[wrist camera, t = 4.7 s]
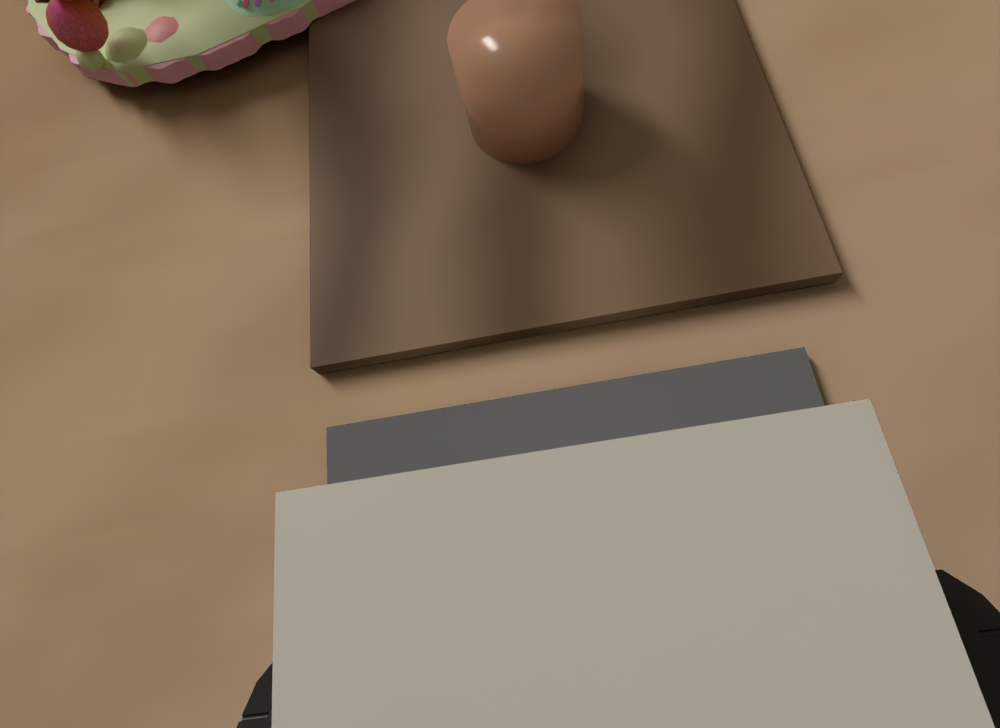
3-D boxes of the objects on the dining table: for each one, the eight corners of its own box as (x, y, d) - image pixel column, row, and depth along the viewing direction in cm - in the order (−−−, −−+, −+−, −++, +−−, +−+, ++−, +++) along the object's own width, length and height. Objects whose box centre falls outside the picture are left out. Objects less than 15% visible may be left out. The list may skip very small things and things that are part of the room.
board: (318, 373, 18) (310, 367, 18) (315, 23, 24) (308, 10, 24) (834, 282, 17) (842, 272, 16) (697, -69, 23) (700, -85, 22)
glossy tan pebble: (447, 132, 20) (420, 47, 17) (518, 57, 21) (504, -37, 18) (535, 183, 19) (523, 102, 16) (608, 102, 20) (610, 8, 16)
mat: (343, 1046, 13) (335, 1061, 12) (332, 430, 18) (326, 427, 17) (1025, 1006, 11) (1040, 1021, 11) (800, 352, 16) (804, 347, 16)
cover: (493, 821, 13) (258, 1392, 4) (465, 543, 15) (275, 492, 6) (768, 795, 13) (1248, 1394, 3) (697, 509, 15) (869, 398, 6)
